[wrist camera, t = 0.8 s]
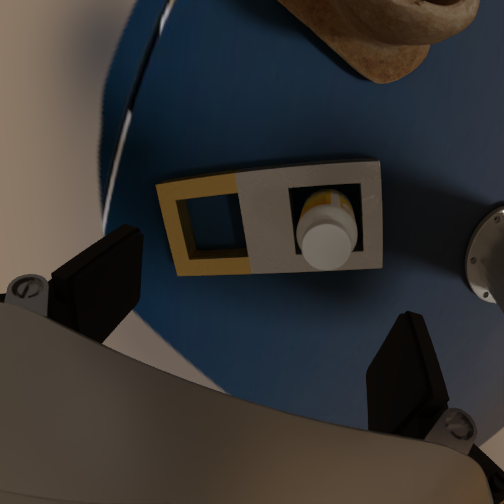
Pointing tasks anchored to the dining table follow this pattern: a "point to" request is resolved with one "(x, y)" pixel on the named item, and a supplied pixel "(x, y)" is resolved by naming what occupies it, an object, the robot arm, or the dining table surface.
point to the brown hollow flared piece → (383, 30)
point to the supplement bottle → (327, 229)
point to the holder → (270, 216)
